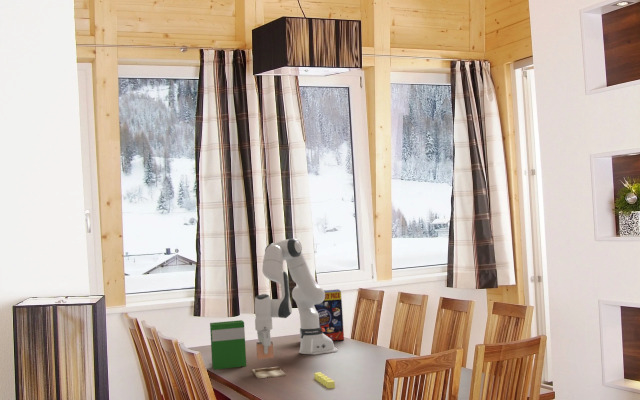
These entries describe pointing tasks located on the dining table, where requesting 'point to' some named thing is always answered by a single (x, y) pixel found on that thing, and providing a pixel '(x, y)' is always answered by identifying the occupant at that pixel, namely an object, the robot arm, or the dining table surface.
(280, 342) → the dining table surface
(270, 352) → the block
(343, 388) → the dining table surface
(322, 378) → the yellow segmented bar
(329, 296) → the cereal box
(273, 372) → the board
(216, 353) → the hardback book
